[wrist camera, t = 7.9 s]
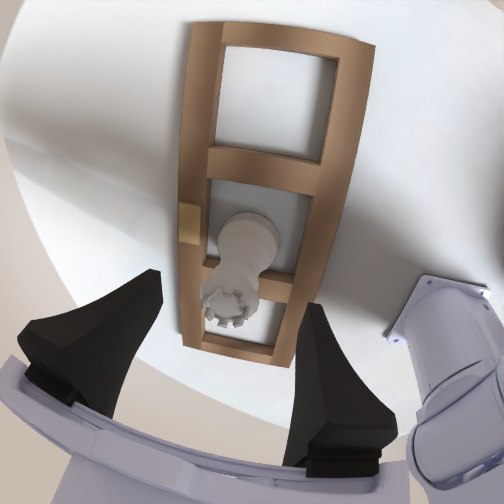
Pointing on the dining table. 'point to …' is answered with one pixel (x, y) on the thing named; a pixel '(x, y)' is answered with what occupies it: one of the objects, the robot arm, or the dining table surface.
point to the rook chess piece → (239, 268)
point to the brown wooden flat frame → (264, 175)
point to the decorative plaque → (498, 4)
